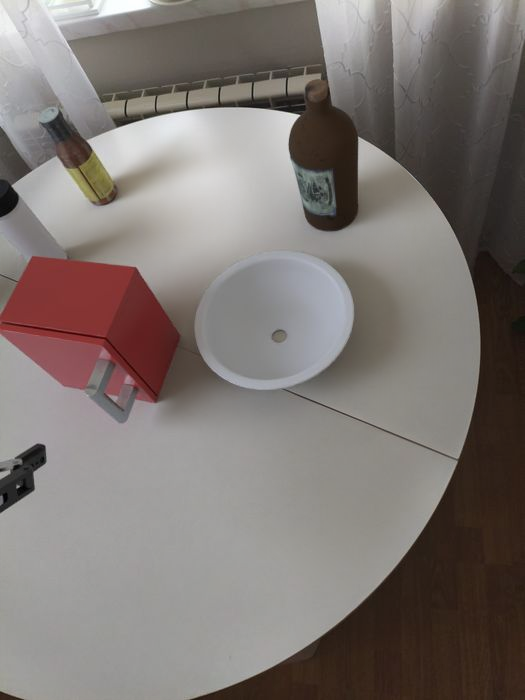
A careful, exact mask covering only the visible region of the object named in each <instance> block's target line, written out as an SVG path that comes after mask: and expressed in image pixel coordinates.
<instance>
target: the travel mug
mask: <svg viewBox="0 0 525 700" xmlns="http://www.w3.org/2000/svg"><path fill="white" fill-rule="evenodd" d="M0 233H1V235H2V236H3V237H4V238H5V239H7V241H8V242H9V243H10V244H11V245H12V247H14V248H15V250H16V251H17V252H18V253H19V254H20V256H22V257H23V259H24V260H25V261H26V262H27V264H28V263H29V261H30V259H31V257H32V256H39V257H48V258H57V259H67V260H70V257H69V256H68V254H67V252H66V251H65V250H64V249H63V247H61V245H60V244H59V243H58V242H57V240H56V239H55V237H53V235H52V234H51V232H50V231H49V230H48V229H47V228H46V226H45V225H44V224H43V223H42V221H40V219H39V218H38V216H37V215H36V214H35V213H34V212H33V210H32V209H31V208H30V207H29V205H28V204H27V203H26V202H25V200H24V199H23V198H22V196H21V195H20V194H19V193H18V191H16V189H15V188H14V187H13V186H12V185H11V184H10V182H9V181H8V180H6V179H4V178H3V179H2V178H0Z"/></svg>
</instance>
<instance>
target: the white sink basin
mask: <svg viewBox="0 0 525 700" xmlns="http://www.w3.org/2000/svg"><path fill="white" fill-rule="evenodd" d="M354 322H355V304H354V299H353V295H352V292H351V290H350V287H349V286H348V283H347V282H346V281H345V279H344V278H343V276H342V274H340V273H339V272H338V270H336V269H335V268H334V267H333V266H331V264H329V263H327V262H326V261H324V260H322V259H321V258H319V257H317V256H315V255H311V254H309V253H305V252H301V251H295V250H271V251H265V252H261V253H257V254H254V255H251V256H248V257H246V258H243V259H241V260H239V261H237V262H235V263H234V264H232V265H230V266H229V267H227V268H226V269H225V270H223V271H222V272H221V273H220V274H219V275H218V276H217V277H215V279H214V280H213V281H212V282H211V283H210V285H209V286H208V287H207V288H206V290H205V292H204V293H203V294H202V296H201V298H200V301H199V303H198V306H197V308H196V312H195V318H194V325H193V326H194V327H193V329H194V338H195V344H196V346H197V349H198V351H199V354H200V356H201V358H202V359H203V361H204V363H205V364H206V365H207V366H208V367H209V368H210V369H211V371H213V372H214V373H215V374H216V375H217V376H219V377H220V378H222V379H224V380H225V381H226V382H229V383H231V384H234V385H236V386H238V387H241V388H245V389H250V390H256V391H257V390H258V391H276V390H282V389H288V388H292V387H294V386H298V385H300V384H302V383H305V382H307V381H309V380H312V379H313V378H315V377H316V376H318V375H319V374H321V373H323V371H325V370H326V369H327V368H328V367H330V366H331V365H332V364H333V363H334V362H335V361H336V360H337V358H338V357H339V356H340V355H341V353H342V352H343V350H344V348H345V347H346V345H347V343H348V341H349V339H350V337H351V334H352V331H353V328H354ZM277 331H283V332H285V334H286V338H285V339H284V340H283V341H280V342H276V341H274V339H273V335H274V333H276V332H277Z"/></svg>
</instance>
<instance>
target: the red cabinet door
mask: <svg viewBox="0 0 525 700" xmlns="http://www.w3.org/2000/svg"><path fill="white" fill-rule="evenodd" d="M0 335H1V336H2V337H3V338H4V339H6V341H8V342H9V343H10V344H12V345H13V346H14V347H16V349H18V350H19V351H20V352H21V353H23V354H24V355H25V356H26V357H28V358H29V359H30V360H31V361H32V362H33V363H35V364H36V365H37V366H39V367H40V368H41V369H42V370H43V371H44V372H46V373H47V374H48V375H49V376H50V377H52V378H53V379H54V380H55V381H57V382H58V383H59V384H60V385H61V386H63V387H67V388H71V389H77V390H83V391H84V393H85V395H86V396H87V398H89V399H90V400H91V401H92V402H93V403H95V404H96V405H97V406H98V407H99V408H101V409H102V410H103V411H104V412H105V413H106V414H108V415H109V416H110V417H111V418H112V419H113V420H115V421H116V422H117V423H118V424H124V423H126V422H127V421H128V419H129V416H130V414H131V411H132V409H133V406H134V403H135V401H141V402H147V403H151V404H152V403H153V404H156V403H157V401H158V397H159V396H156V395H155V394H154V393H153V392H152V391H151V390H150V389H149V387H148V386H147V385H146V384H145V383H144V382H143V381H142V380H141V379H140V377H139V376H138V375H137V374H136V373H135V372H134V371H133V370H132V369H131V367H130V366H129V365H128V364H127V363H126V362H125V361H124V360H123V358H122V357H121V356H120V355H119V354H118V353H117V352H116V351H115V350H114V348H113V347H112V346H111V345H110V344H109V343H108V342H107V341H106V340H105V339H100V338H93V337H86V336H80V335H73V334H67V333H60V332H54V331H47V330H41V329H34V328H28V327H21V326H15V325H8V324H2V323H0ZM110 396H115V397H117V398H116V399H117V400H116V401H114V400H113V399H112V398H111V397H110Z"/></svg>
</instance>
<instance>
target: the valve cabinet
mask: <svg viewBox="0 0 525 700" xmlns="http://www.w3.org/2000/svg"><path fill="white" fill-rule="evenodd" d="M0 323H2V324H8V325H15V326H21V327H28V328H34V329H41V330H47V331H54V332H60V333H67V334H73V335H80V336H86V337H93V338H100V339H105V340H106V341H107V342H108V343H109V344H110V345H111V346H112V347H113V348H114V350H115V351H116V352H117V353H118V354H119V355H120V356H121V357H122V358H123V360H124V361H125V362H126V363H127V364H128V365H129V366H130V367H131V369H132V370H133V371H134V372H135V373H136V374H137V375H138V376H139V377H140V379H141V380H142V381H143V382H144V383H145V384H146V385H147V386H148V387H149V389H150V390H151V391H152V392H153V393H154V394H155V395H156V396H157V397H159V396H160V394H161V391H162V388H163V386H164V383H165V380H166V378H167V374H168V372H169V369H170V366H171V365H172V361H173V358H174V356H175V353H176V350H177V348H178V345H179V342H180V339H181V337H182V335H181V333H180V332H179V331H178V329H177V328H176V326H175V324H173V321H172V320H171V319H170V317H169V315H168V313H167V312H166V311H165V309H164V307H163V306H162V305H161V303H160V302H159V300H158V299H157V297H156V295H155V294H154V292H153V291H152V289H151V288H150V286H149V285H148V283H147V281H146V280H145V278H144V276H143V275H142V273H141V272H140V271H139V269H138V268H137V266H130V265H122V264H113V263H102V262H92V261H85V260H76V259H69V260H67V259H57V258H48V257H39V256H32V257H31V259H30V261H29V263H28V262H27V264H26V266H25V268H24V270H23V272H22V274H21V276H20V278H19V280H18V282H17V283H16V285H15V287H14V289H13V290H12V292H11V295H10V296H9V298H8V299H7V302H6V304H5V306H4V307H3V310H2V311H1V313H0Z"/></svg>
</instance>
